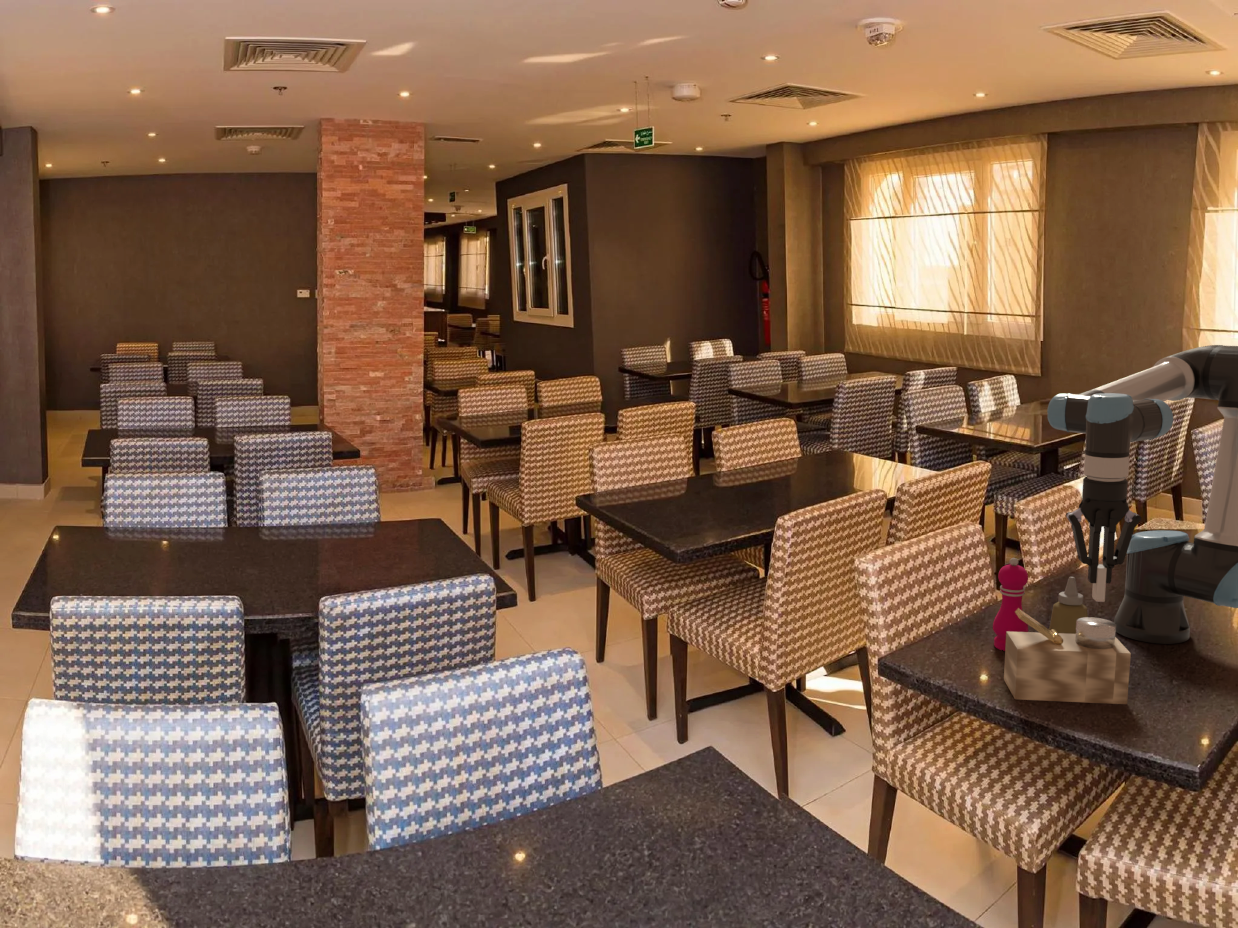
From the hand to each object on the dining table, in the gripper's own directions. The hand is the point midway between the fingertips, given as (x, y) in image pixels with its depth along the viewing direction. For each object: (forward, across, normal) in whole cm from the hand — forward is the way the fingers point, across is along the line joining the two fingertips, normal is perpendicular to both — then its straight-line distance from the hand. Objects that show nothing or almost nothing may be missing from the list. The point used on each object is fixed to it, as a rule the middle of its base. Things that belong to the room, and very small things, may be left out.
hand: (1098, 599), depth 193 cm
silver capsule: (+17, 0, 0) cm, 17 cm away
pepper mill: (+19, +10, -24) cm, 32 cm away
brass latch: (+6, +11, 0) cm, 12 cm away
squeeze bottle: (+19, 0, -17) cm, 25 cm away
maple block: (+19, +6, 0) cm, 19 cm away
